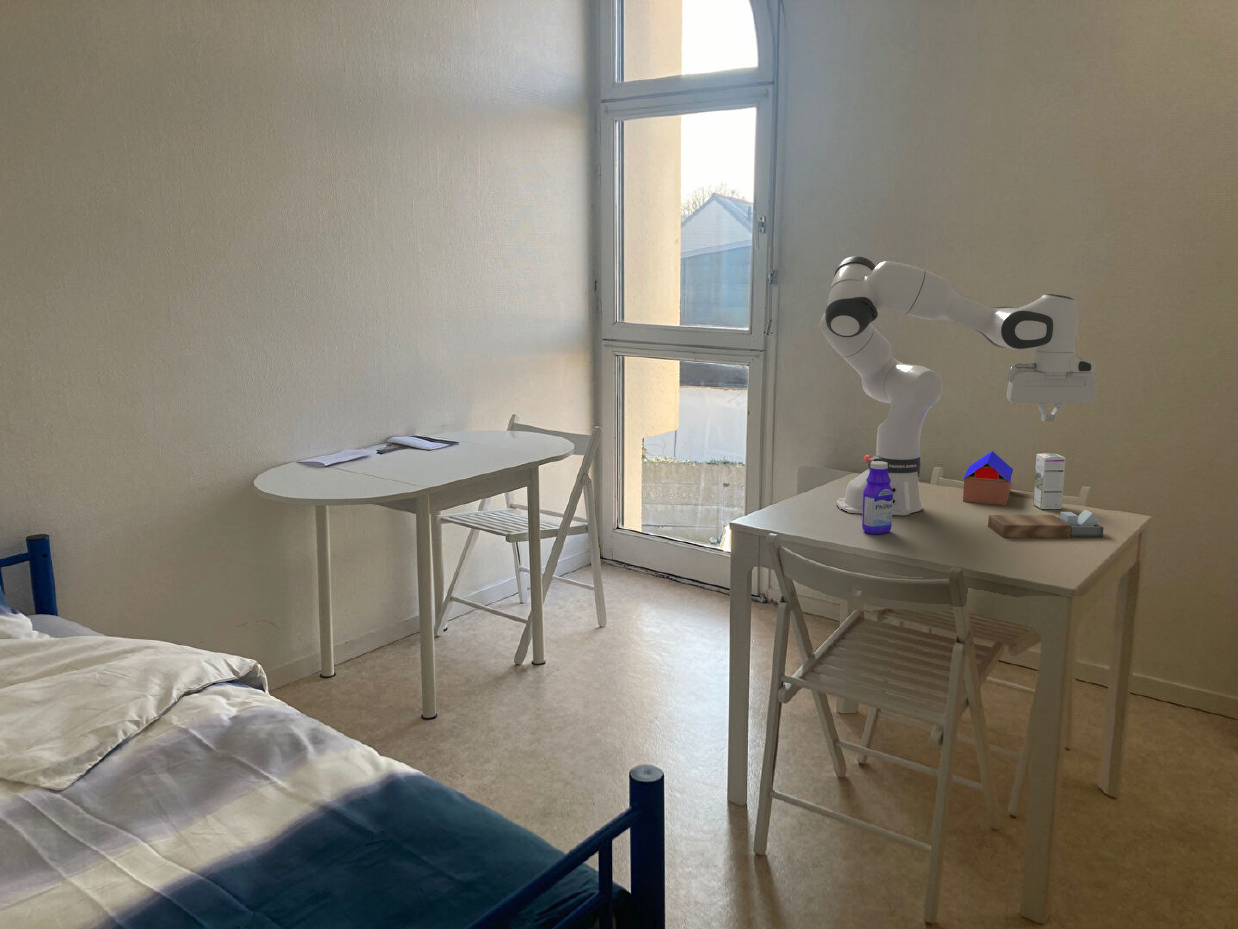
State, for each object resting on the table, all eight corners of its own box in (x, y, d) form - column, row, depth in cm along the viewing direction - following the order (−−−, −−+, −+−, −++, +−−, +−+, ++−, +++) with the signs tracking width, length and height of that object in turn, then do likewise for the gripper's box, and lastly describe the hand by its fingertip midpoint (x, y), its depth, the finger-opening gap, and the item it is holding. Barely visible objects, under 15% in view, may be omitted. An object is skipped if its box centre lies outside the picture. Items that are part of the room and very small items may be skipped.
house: (961, 502, 264) (964, 461, 262) (968, 488, 282) (970, 449, 280) (1007, 506, 259) (1010, 464, 257) (1011, 491, 277) (1014, 452, 275)
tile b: (1076, 531, 230) (1066, 531, 230) (1069, 527, 234) (1059, 527, 234) (1078, 515, 229) (1067, 515, 229) (1070, 511, 233) (1060, 511, 233)
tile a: (1092, 513, 229) (1099, 519, 229) (1084, 509, 233) (1092, 515, 233) (1080, 525, 230) (1088, 531, 230) (1073, 521, 234) (1080, 527, 234)
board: (1002, 537, 228) (1003, 525, 227) (987, 526, 238) (988, 515, 237) (1070, 537, 227) (1071, 525, 227) (1052, 526, 237) (1053, 515, 237)
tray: (1071, 537, 228) (1071, 527, 227) (1053, 526, 237) (1054, 517, 236) (1102, 537, 227) (1103, 527, 227) (1084, 526, 237) (1085, 517, 236)
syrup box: (1062, 510, 254) (1067, 457, 251) (1040, 510, 254) (1044, 457, 251) (1053, 505, 259) (1057, 453, 257) (1031, 505, 259) (1035, 453, 257)
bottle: (873, 536, 229) (876, 465, 226) (857, 531, 234) (860, 461, 231) (895, 532, 232) (899, 463, 229) (879, 527, 237) (882, 459, 234)
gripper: (1014, 364, 222) (1010, 423, 225) (1102, 364, 222) (1097, 423, 225) (1004, 362, 229) (1000, 419, 231) (1090, 362, 228) (1085, 419, 231)
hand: (1048, 421), depth 228 cm, fingers closed
